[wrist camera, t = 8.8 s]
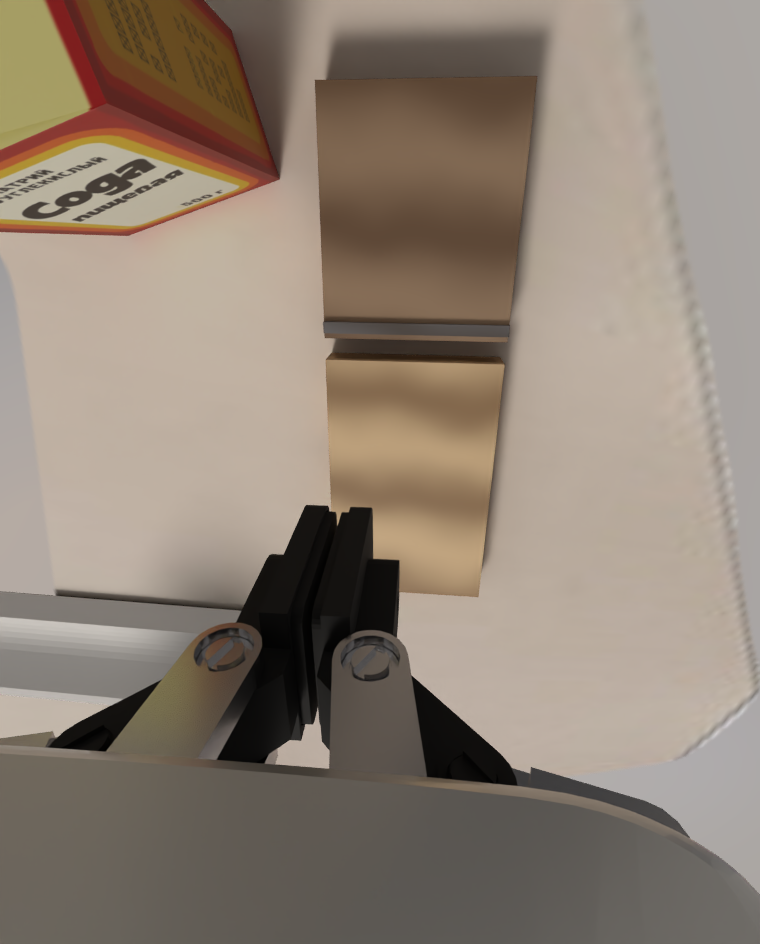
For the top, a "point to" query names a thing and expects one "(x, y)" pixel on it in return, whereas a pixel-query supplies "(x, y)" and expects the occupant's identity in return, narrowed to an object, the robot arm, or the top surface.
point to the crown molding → (93, 645)
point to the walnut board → (421, 204)
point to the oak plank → (417, 459)
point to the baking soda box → (121, 115)
